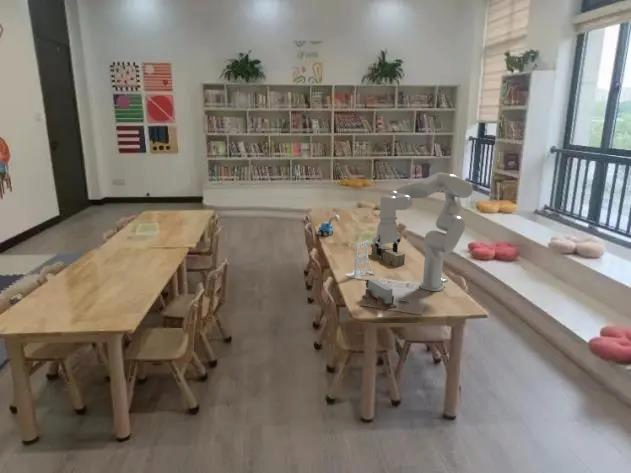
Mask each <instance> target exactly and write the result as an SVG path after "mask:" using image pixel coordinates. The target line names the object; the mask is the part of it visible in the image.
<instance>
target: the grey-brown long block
mask: <svg viewBox="0 0 631 473" xmlns="http://www.w3.org/2000/svg"><path fill="white" fill-rule="evenodd" d="M370 248H371V252H370V253H371V254H370V255H371V256H373V257H375V258H377V259H379V260H382V259H383V260H382V261H383V262H385V263H387V264H389V265H391V266H393V267H395V268H398V267H402V266H404V265H405V258H406V254H405V253H404V252H402V251H400V250H397V253H396V252H393V247H391V246H389V245H386V244H383V245H382V246H381V248H382V254H381V256H379V255H377V247H376V246H375V245H374V243H373V242H372V243H370Z"/></svg>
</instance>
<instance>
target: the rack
mask: <svg viewBox="0 0 631 473" xmlns="http://www.w3.org/2000/svg"><path fill="white" fill-rule="evenodd" d="M370 293H371V291H370V290H368V288H366V289H365V293H364V294H363V295H362V296H361V297H362V298H363V299H364V300H366V301H367V302H369V303H371V304H372V305H373V306H375V307H376V308H378V309H379V310H381V311H385V310H389V309H395V308H397V304H395V303H394V302H395V296H394V295H392V303H387V304H385V303H384V302H383V298H381V297H380V296H379V297H378V299H377V298H376V297H374V296H373V295H371V294H370Z"/></svg>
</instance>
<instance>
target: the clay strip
mask: <svg viewBox="0 0 631 473" xmlns="http://www.w3.org/2000/svg"><path fill="white" fill-rule="evenodd" d="M368 280H369V281H368V286H367V289H368V290H370V291H371V293H370V294H371V295H373V296H374V297H376V298H377V299H378V297H379V296H380V297H381V298H383V302H384V303H385V304H387V303H392V296H393V288H391V287H389V286H388V285H386V284H384V283H383V282H381V281H379V280H378V279H375V278H369V279H368ZM377 280H378V281H377Z"/></svg>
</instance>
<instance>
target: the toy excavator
mask: <svg viewBox="0 0 631 473" xmlns="http://www.w3.org/2000/svg"><path fill="white" fill-rule="evenodd" d="M333 221H335V222H338V221H340V215H338V214H335V215H333V216H332V217H330V218H329V219H328V221H325V222H322V223H321V224H320V226H319V227H318V231H317V235H318V236H322V235H323V236H324V237H325V238H327V237H328V236H331V235H333V234H334V230H335V228H334V227H333Z"/></svg>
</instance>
